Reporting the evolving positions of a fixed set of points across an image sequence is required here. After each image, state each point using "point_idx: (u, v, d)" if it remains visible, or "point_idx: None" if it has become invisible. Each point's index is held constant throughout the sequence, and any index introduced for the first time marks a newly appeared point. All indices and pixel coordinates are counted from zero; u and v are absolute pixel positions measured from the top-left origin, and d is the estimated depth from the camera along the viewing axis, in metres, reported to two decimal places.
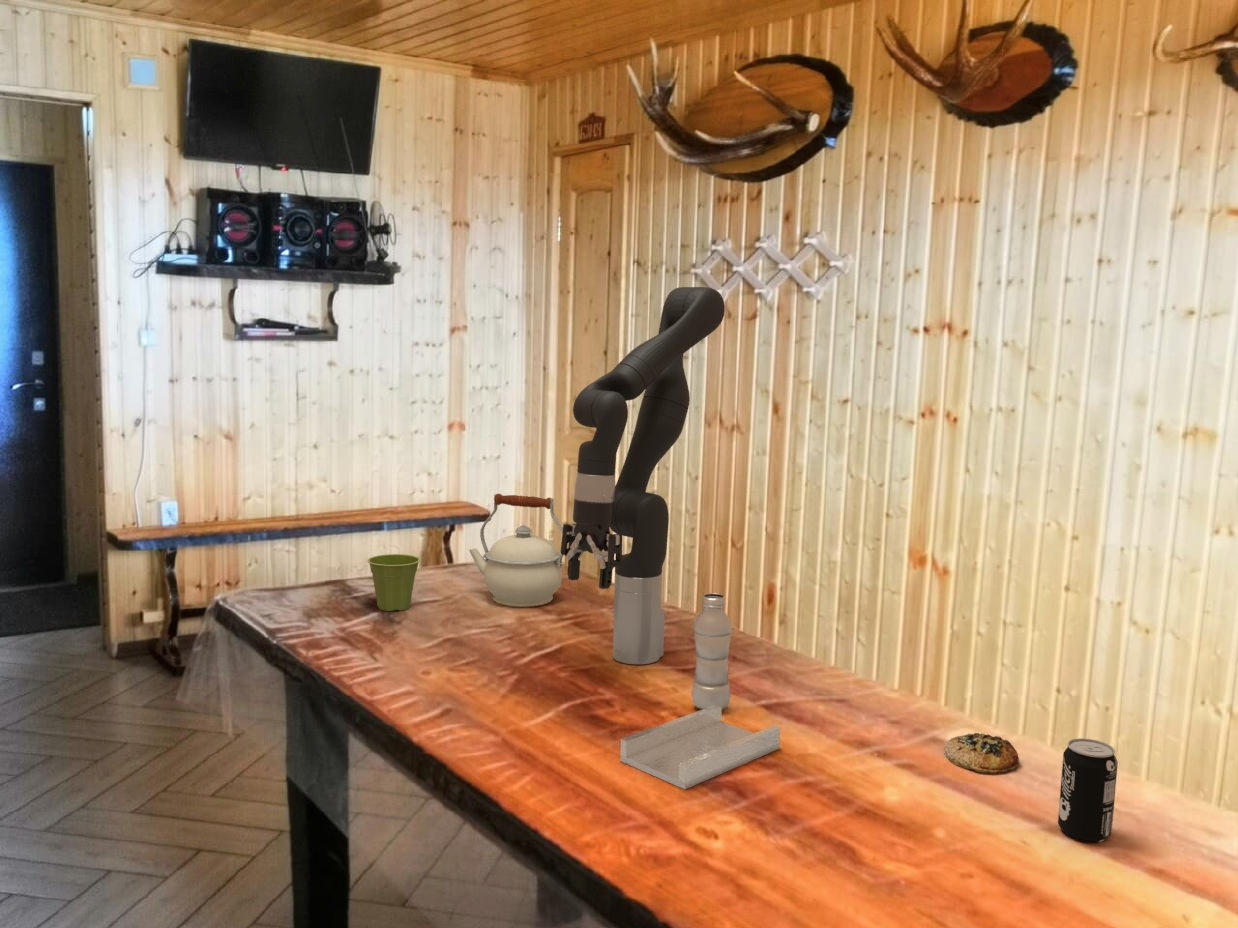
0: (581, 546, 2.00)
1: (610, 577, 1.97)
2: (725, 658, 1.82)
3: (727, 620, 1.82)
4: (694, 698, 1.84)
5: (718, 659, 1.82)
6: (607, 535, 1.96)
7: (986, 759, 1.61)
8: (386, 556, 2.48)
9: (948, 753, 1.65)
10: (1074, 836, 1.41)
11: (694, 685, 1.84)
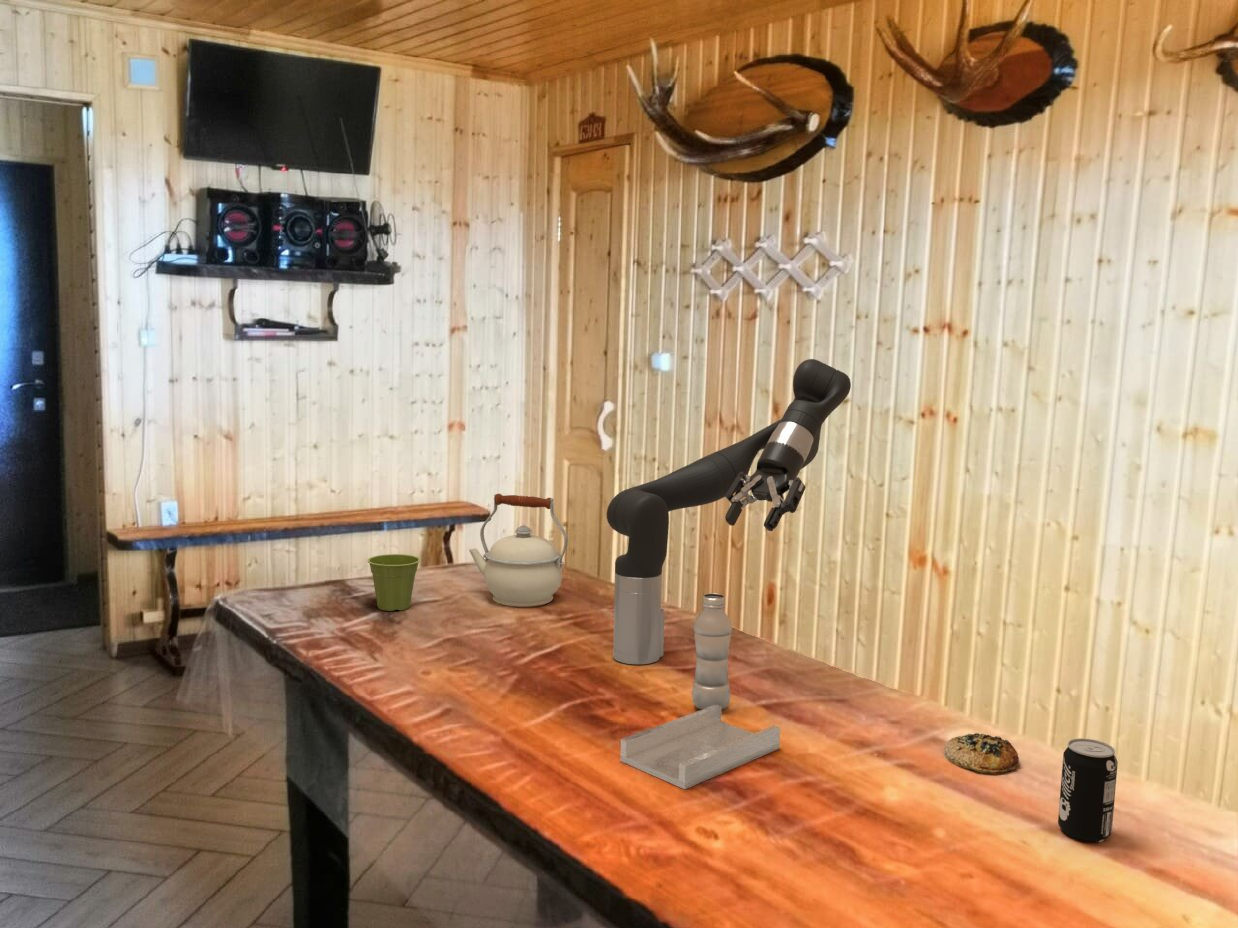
0: (754, 489, 1.92)
1: (778, 520, 1.86)
2: (725, 658, 1.82)
3: (727, 620, 1.82)
4: (694, 698, 1.84)
5: (718, 659, 1.82)
6: (791, 481, 1.89)
7: (986, 759, 1.61)
8: (386, 556, 2.48)
9: (948, 753, 1.65)
10: (1074, 836, 1.41)
11: (694, 685, 1.84)
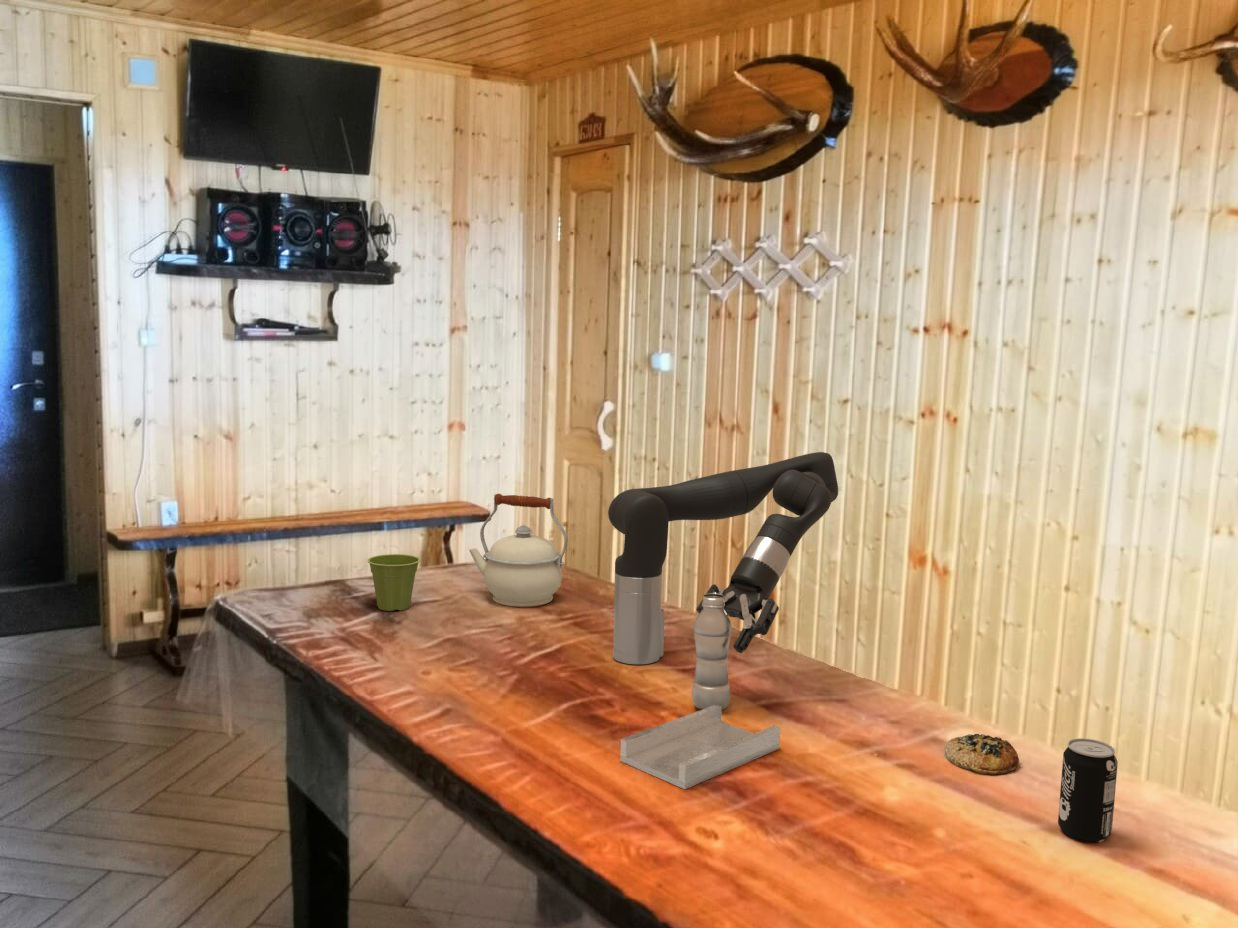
0: (726, 606, 1.87)
1: (748, 642, 1.81)
2: (725, 658, 1.82)
3: (727, 620, 1.82)
4: (694, 698, 1.84)
5: (718, 659, 1.82)
6: (764, 601, 1.84)
7: (986, 759, 1.61)
8: (386, 556, 2.48)
9: (948, 754, 1.65)
10: (1074, 836, 1.41)
11: (694, 685, 1.84)
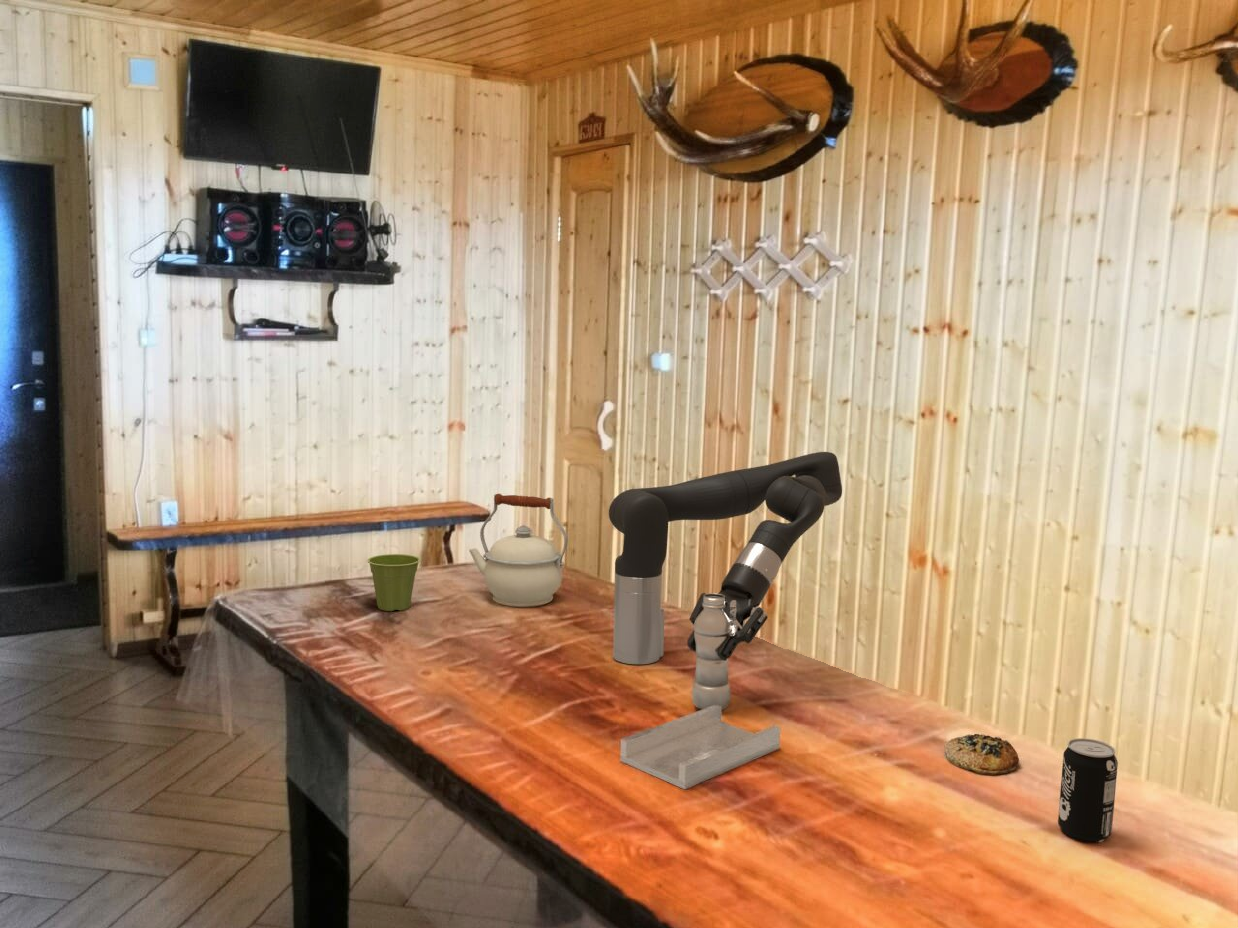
0: None
1: (732, 650, 1.81)
2: None
3: (727, 620, 1.82)
4: (694, 698, 1.84)
5: (718, 659, 1.82)
6: (754, 608, 1.83)
7: (986, 760, 1.61)
8: (386, 556, 2.48)
9: (948, 754, 1.65)
10: (1074, 835, 1.41)
11: (694, 685, 1.84)
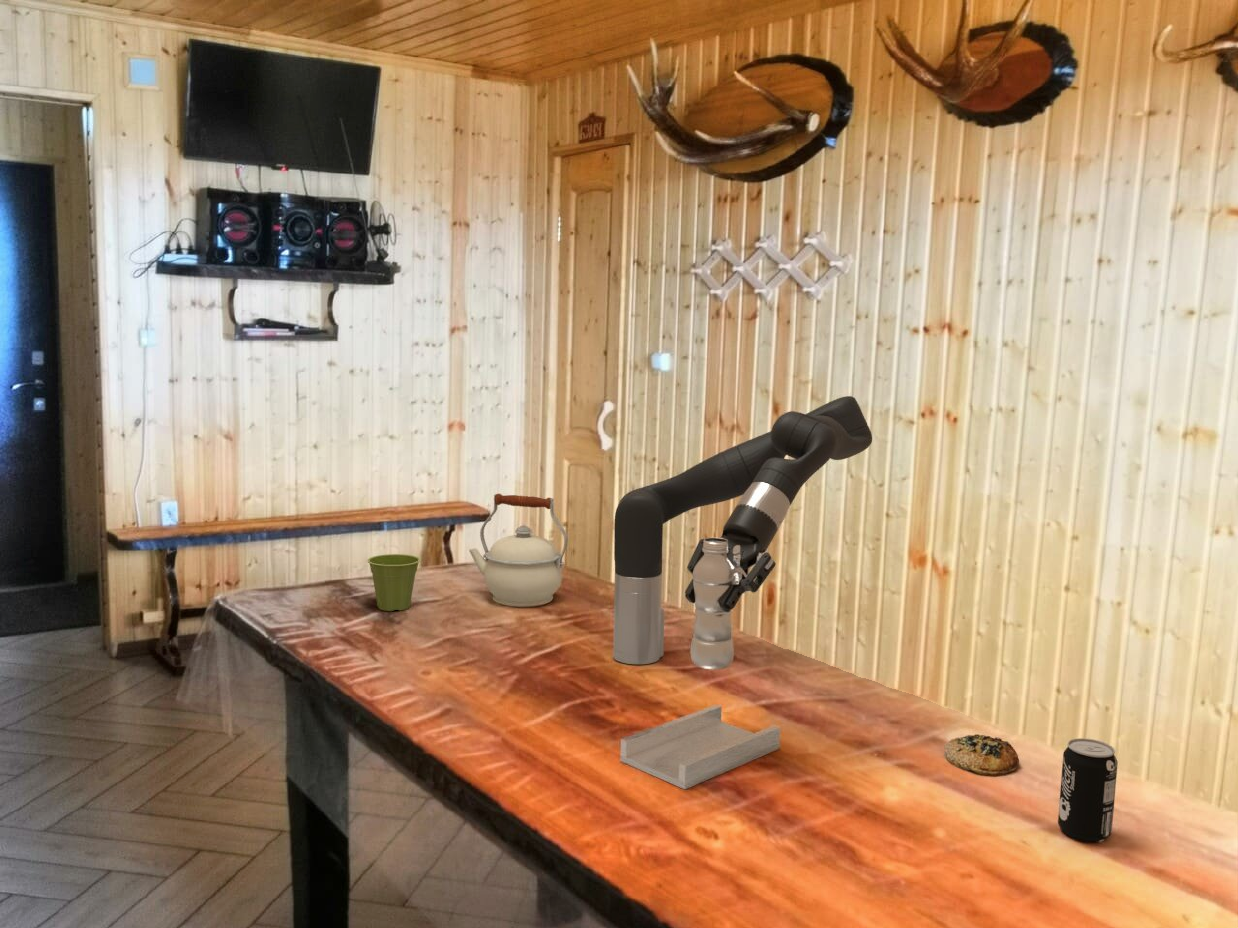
0: None
1: (736, 600, 1.60)
2: None
3: (731, 567, 1.61)
4: (693, 655, 1.63)
5: (720, 611, 1.61)
6: (760, 554, 1.63)
7: (986, 760, 1.61)
8: (386, 556, 2.48)
9: (948, 754, 1.65)
10: (1074, 836, 1.41)
11: (693, 641, 1.64)
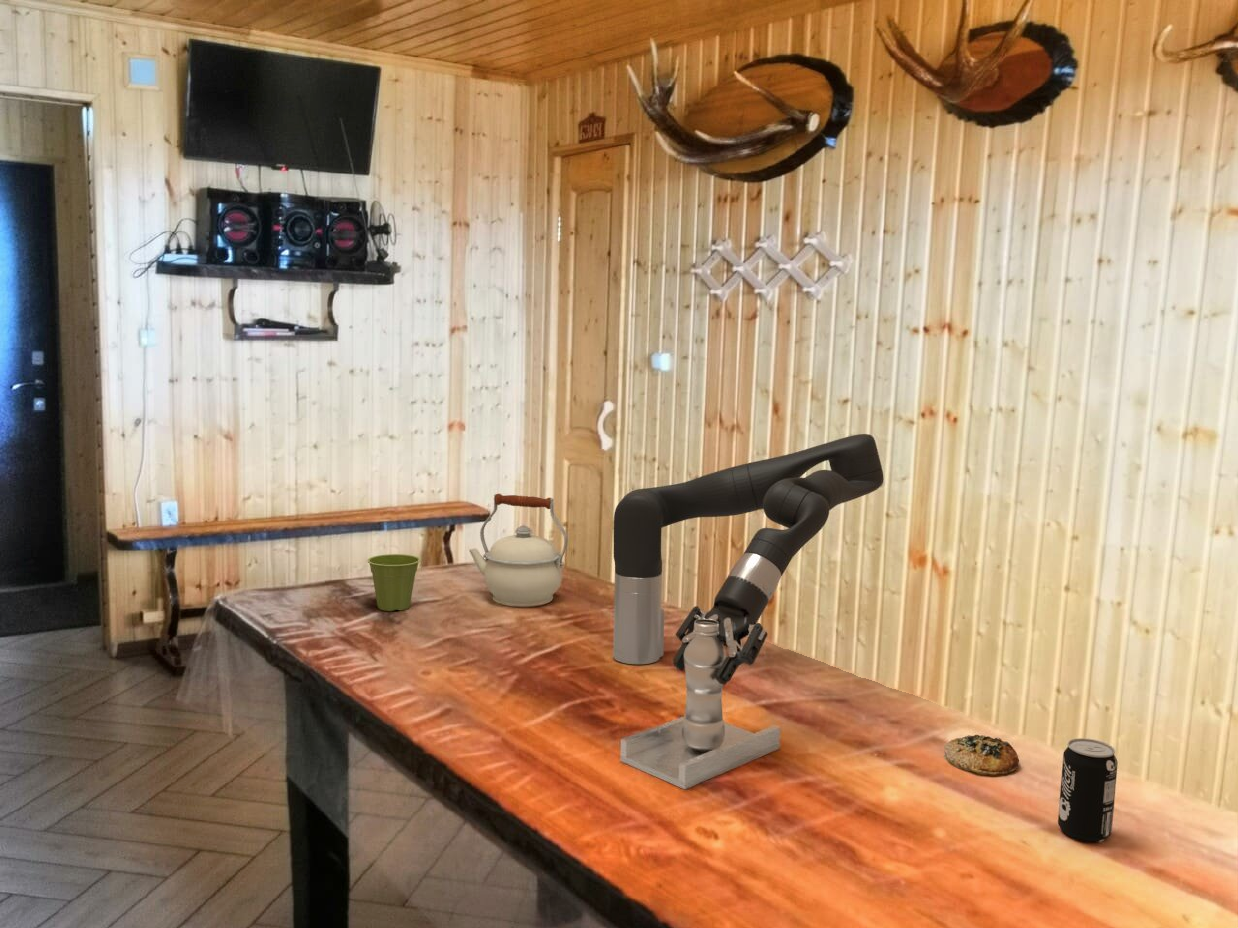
0: None
1: (732, 673, 1.60)
2: (719, 691, 1.63)
3: (721, 649, 1.63)
4: (684, 736, 1.64)
5: (711, 693, 1.62)
6: (751, 626, 1.63)
7: (985, 761, 1.61)
8: (386, 556, 2.48)
9: (948, 755, 1.65)
10: (1074, 835, 1.41)
11: (684, 721, 1.65)
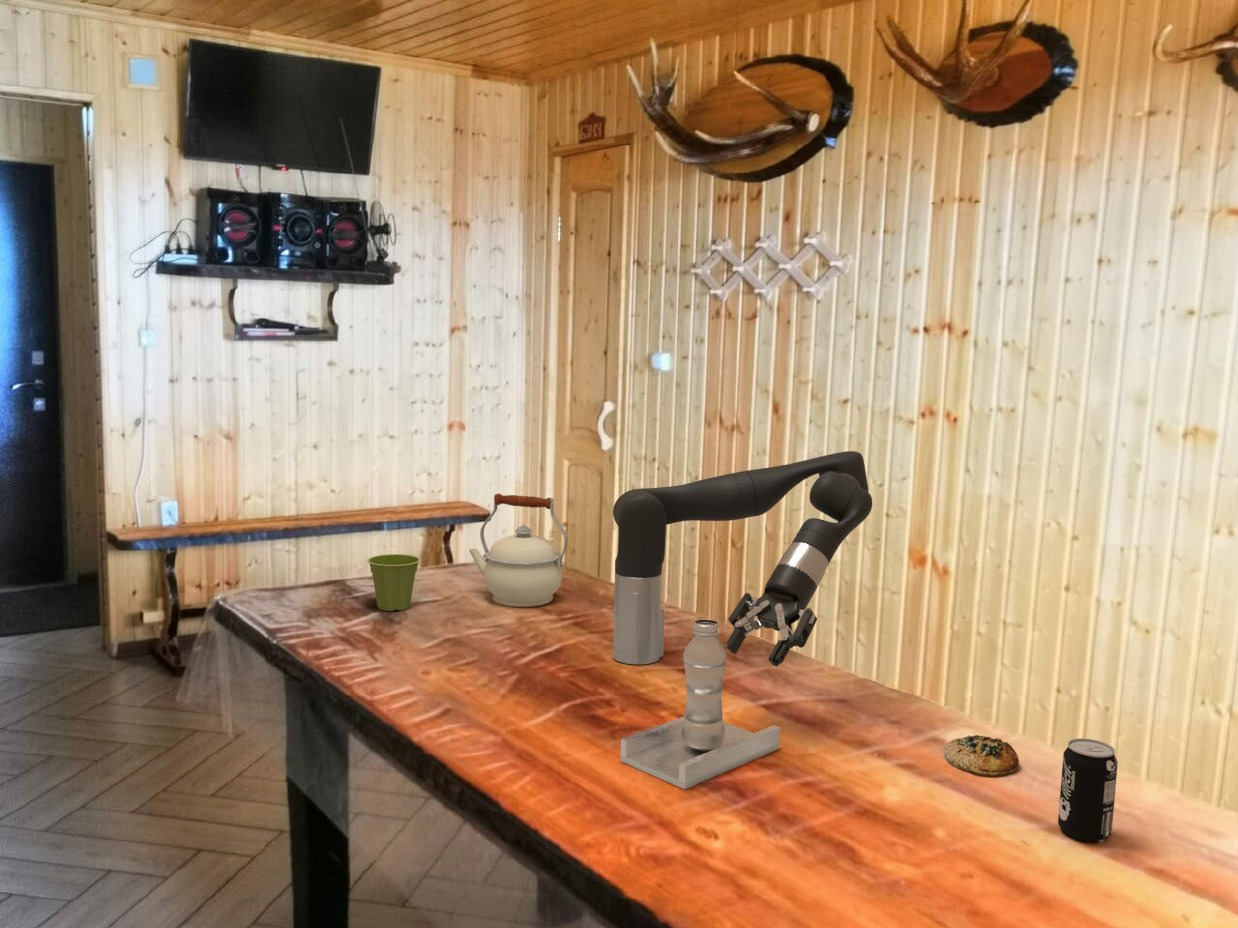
0: (761, 616, 1.75)
1: (784, 655, 1.69)
2: (719, 691, 1.63)
3: (721, 649, 1.63)
4: (684, 736, 1.64)
5: (711, 693, 1.62)
6: (801, 611, 1.72)
7: (985, 761, 1.61)
8: (386, 556, 2.48)
9: (948, 755, 1.64)
10: (1074, 836, 1.41)
11: (684, 722, 1.65)
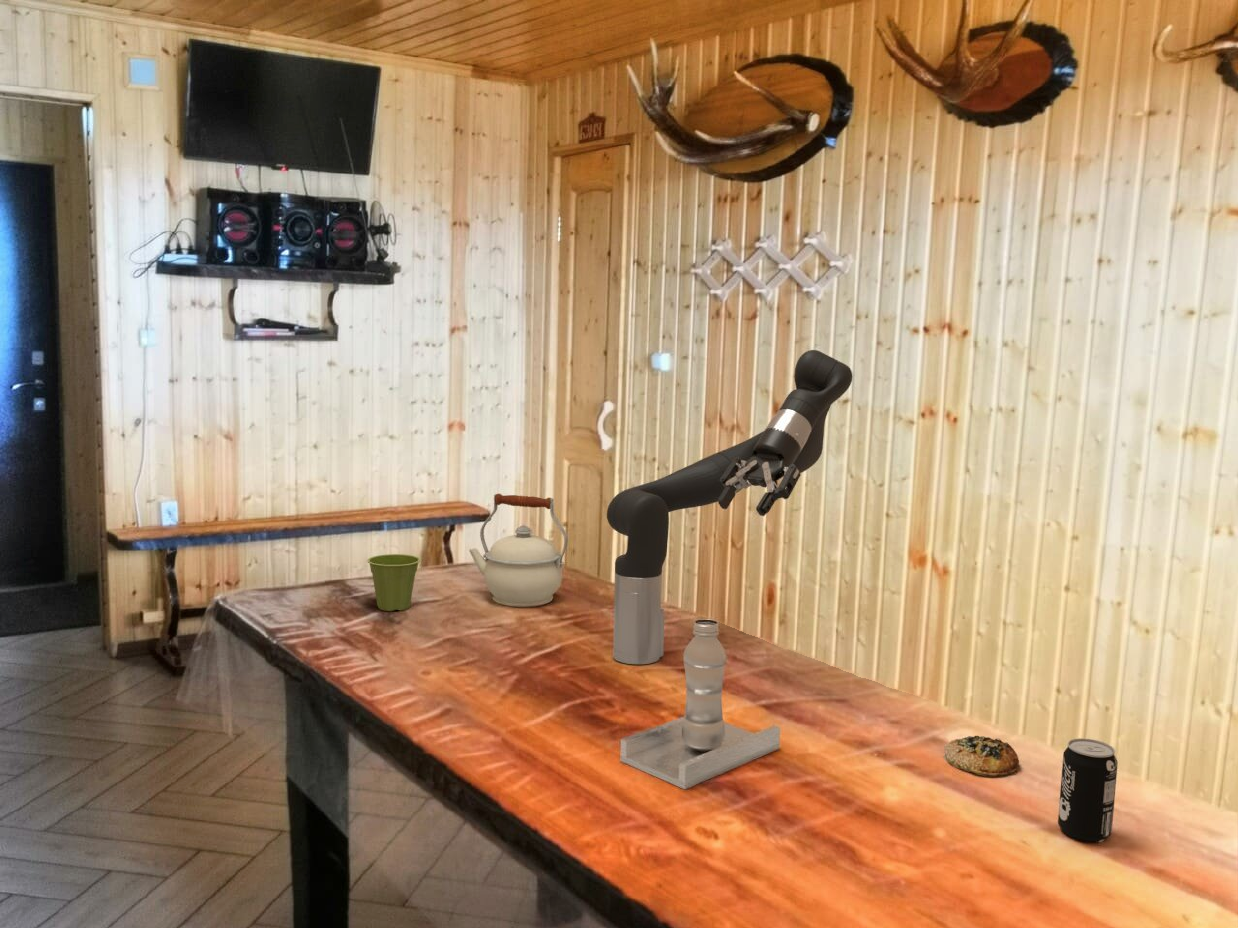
0: (749, 474, 1.91)
1: (771, 505, 1.85)
2: (719, 691, 1.63)
3: (721, 649, 1.63)
4: (684, 736, 1.64)
5: (711, 693, 1.62)
6: (786, 468, 1.89)
7: (985, 761, 1.60)
8: (386, 556, 2.48)
9: (948, 756, 1.64)
10: (1074, 836, 1.41)
11: (684, 722, 1.65)
